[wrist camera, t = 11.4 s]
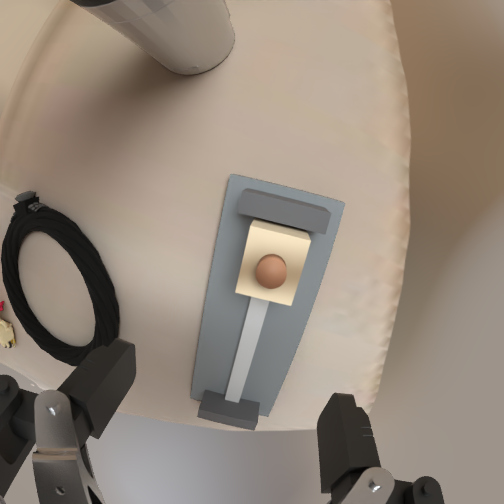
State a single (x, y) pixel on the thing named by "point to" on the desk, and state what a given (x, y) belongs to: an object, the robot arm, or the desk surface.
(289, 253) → the keeper
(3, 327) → the cat figure
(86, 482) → the robot arm
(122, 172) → the desk surface
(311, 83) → the desk surface
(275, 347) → the rail board
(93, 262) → the cable lock
